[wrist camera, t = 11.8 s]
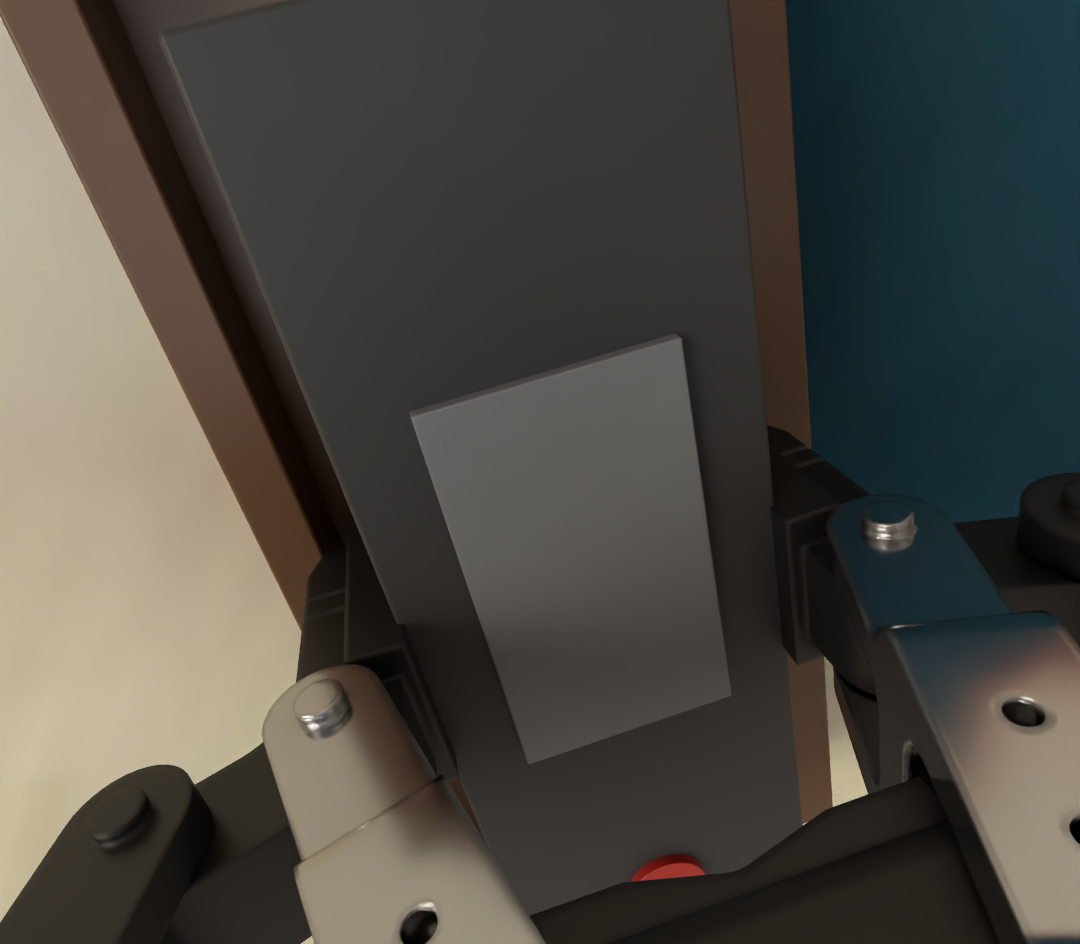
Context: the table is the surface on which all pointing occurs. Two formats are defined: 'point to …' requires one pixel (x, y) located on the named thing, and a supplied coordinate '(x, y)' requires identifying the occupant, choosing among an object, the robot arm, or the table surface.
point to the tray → (246, 323)
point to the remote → (534, 394)
